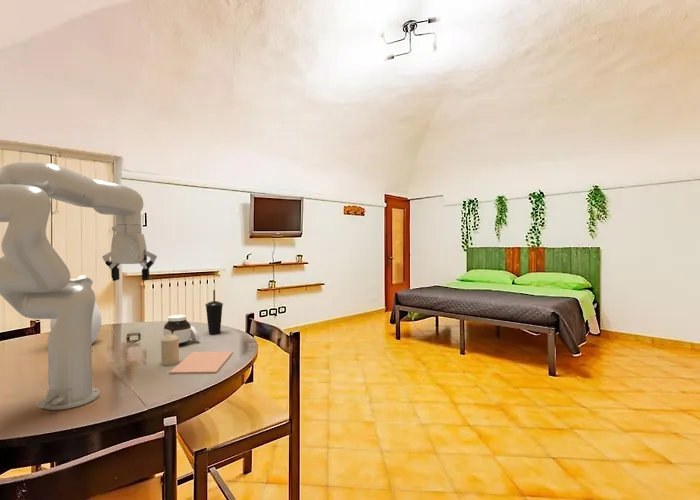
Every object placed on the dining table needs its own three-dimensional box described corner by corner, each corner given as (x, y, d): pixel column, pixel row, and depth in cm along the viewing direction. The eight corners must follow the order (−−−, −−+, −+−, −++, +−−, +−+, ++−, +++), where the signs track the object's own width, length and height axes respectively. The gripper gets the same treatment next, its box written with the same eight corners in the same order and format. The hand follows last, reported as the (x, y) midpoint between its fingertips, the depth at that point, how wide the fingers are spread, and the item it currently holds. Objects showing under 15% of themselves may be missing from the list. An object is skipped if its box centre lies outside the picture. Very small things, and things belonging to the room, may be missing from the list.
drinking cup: (204, 332, 177) (204, 289, 176) (222, 330, 180) (221, 288, 180) (206, 336, 170) (205, 291, 169) (224, 334, 173) (223, 290, 173)
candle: (172, 366, 131) (171, 337, 131) (157, 365, 132) (157, 336, 132) (182, 361, 136) (181, 333, 136) (168, 360, 137) (168, 332, 137)
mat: (216, 373, 124) (216, 371, 124) (169, 374, 123) (168, 372, 123) (233, 352, 146) (233, 351, 146) (192, 353, 145) (192, 351, 145)
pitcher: (96, 348, 151) (95, 278, 150) (43, 353, 145) (42, 279, 144) (109, 334, 173) (108, 272, 173) (64, 337, 167) (63, 273, 166)
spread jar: (160, 345, 155) (160, 317, 155) (181, 338, 166) (180, 312, 166) (184, 348, 151) (184, 319, 151) (203, 341, 162) (203, 314, 162)
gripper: (95, 230, 125) (97, 282, 127) (150, 230, 126) (152, 281, 128) (108, 229, 133) (110, 278, 134) (159, 229, 134) (161, 278, 135)
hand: (130, 280), depth 131 cm, fingers open, 9 cm apart
